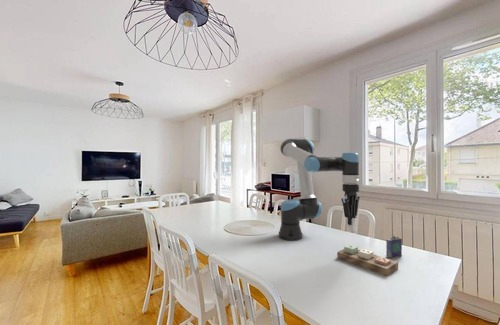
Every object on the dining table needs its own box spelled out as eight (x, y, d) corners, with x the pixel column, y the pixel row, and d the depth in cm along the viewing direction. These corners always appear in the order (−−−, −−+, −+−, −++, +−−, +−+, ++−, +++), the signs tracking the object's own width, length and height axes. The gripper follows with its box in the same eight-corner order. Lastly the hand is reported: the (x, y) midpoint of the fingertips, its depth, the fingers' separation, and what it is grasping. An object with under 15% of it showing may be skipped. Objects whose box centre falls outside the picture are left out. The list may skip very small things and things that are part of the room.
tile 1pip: (344, 251, 115) (344, 246, 115) (349, 249, 117) (349, 244, 117) (352, 254, 111) (352, 248, 111) (357, 252, 114) (357, 246, 114)
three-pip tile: (375, 264, 103) (375, 259, 103) (379, 262, 105) (379, 256, 105) (386, 268, 99) (385, 262, 99) (390, 265, 102) (390, 259, 102)
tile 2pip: (358, 256, 109) (358, 250, 109) (363, 254, 111) (363, 248, 111) (368, 259, 105) (368, 253, 105) (373, 257, 108) (373, 251, 108)
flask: (389, 258, 113) (389, 236, 113) (384, 256, 116) (384, 235, 116) (403, 256, 116) (403, 234, 116) (397, 254, 119) (397, 233, 119)
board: (337, 258, 114) (337, 251, 114) (349, 252, 121) (349, 247, 121) (387, 276, 96) (387, 269, 96) (398, 268, 102) (398, 262, 102)
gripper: (350, 184, 107) (351, 235, 107) (364, 183, 115) (365, 230, 115) (336, 183, 113) (336, 231, 113) (350, 182, 121) (351, 227, 121)
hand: (351, 230), depth 114 cm, fingers closed
